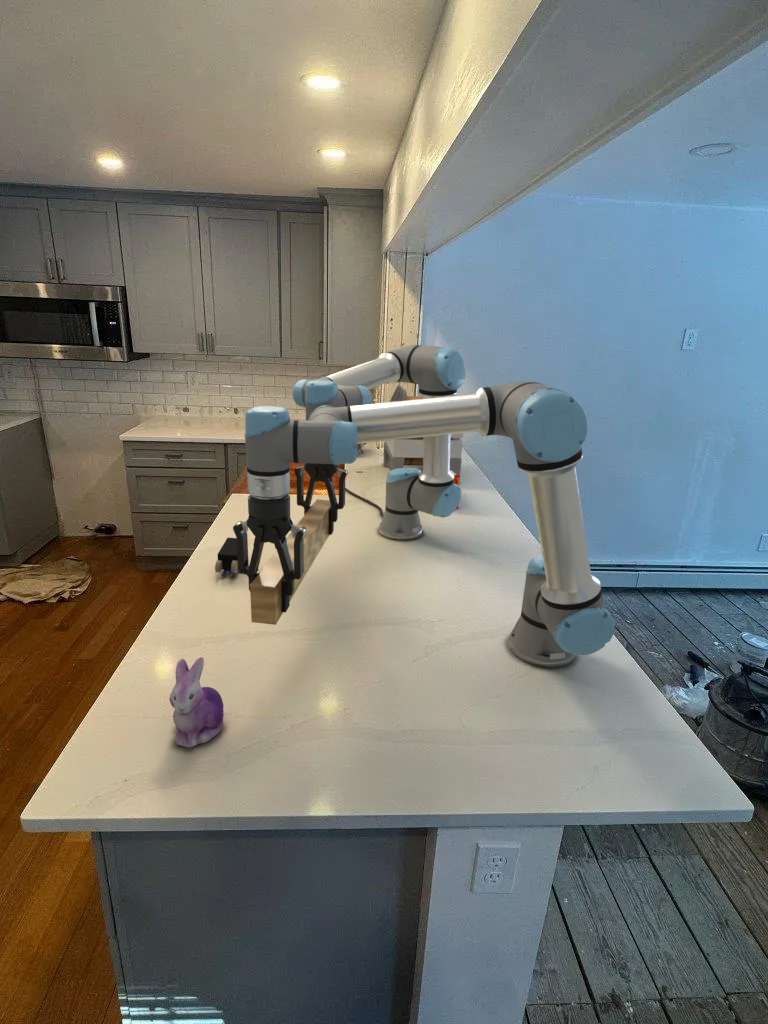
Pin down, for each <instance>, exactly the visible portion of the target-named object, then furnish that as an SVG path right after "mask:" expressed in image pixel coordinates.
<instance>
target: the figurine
mask: <svg viewBox="0 0 768 1024" xmlns="http://www.w3.org/2000/svg"><path fill="white" fill-rule="evenodd" d="M204 665H205V659H204V658H203V657H199V658H197V659H196V660H195V662H194V663H193V664H192V666H191V667H190V669H189V666H188V664H187V661H186V660H185V659H184V658H181V659H179V660H178V661H177V663H176V666H175V684H174V686H173V687H172V690H171V692H170V695H169V704H170V705H171V706H172V707H173V708H174V710H173V713H172V720H173V724H174V726H175V729H176V736H175V743H176V745H179V746H182V747H185V748H193V747H195V746H197V745H199V744H205V743H207V742H208V741H210V740H212V739H214V737H216V736H218V734H219V733H220V732H221V731H222V729H223V726H224V715H225V714H224V701H223V698H222V696H221V694H220V693H219V692H218V690H217V689H216V688H213V687H210V686H201V683H200V680H201V676H202V674H203V670H204Z"/></svg>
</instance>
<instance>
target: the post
mask: <svg viewBox="0 0 768 1024" xmlns="http://www.w3.org/2000/svg"><path fill="white" fill-rule="evenodd" d="M310 506H311V507H310V509H309V510H308V511H307V513H306V514H305V515H304V514H303V516H302V517H301V519H300V520H299V521H298V523H297V524H296V526H298V527H300V528H301V527H303V526H304V527H306V529H307V531H306V533H305V536H304V573H303V574H302V576H301V578H300V579H294V592H293V594H292V595H291V596H289V599H290V601H291V600H292V599H293V597H294V596H295V594H296V592H297V590H298V588H299V587H300V585H301V584H302V582H303V580H304V578H305V577H306V575H307V574H308V572H309V570H310V568H311V567H312V565H313V564H314V562H315V560H316V558H317V557H318V555H319V553H320V552H321V551H322V548H323V547H324V545H325V543H326V542H327V540H328V538H329V537H330V535H329V510H330V509H331V504H330V500H329V499H319V498H317V499H316V500H315V501H314V502H313V504H311V505H310ZM286 539H287V547H288V550H289V554H290V558H291V561H292V565H293V569H294V540H295V538H293V536H292V532H291V531H290V533H288V535H287V536H286ZM258 573H259V574H258V575H257V577H256V578H255V579H254V580H253V582H252V583H251V584H250V590H249V593H250V594H249V595H250V615H251V616H250V617H251V623H256V624H264V625H273V626H274V625H277V623H278V622H279V620H280V619H281V617H282V615H283V614H284V612H282V596H281V581H282V580H283V578H284V574H283V570H282V566H281V563H280V559H279V556H278V552H277V550H276V551H275V552H274V553H273V555H272V556H271V557H270V558H269V560H268V561H267V562H266V564H265V565H264V566H263V568H261V570H260V572H258Z"/></svg>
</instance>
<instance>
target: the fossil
mask: <svg viewBox="0 0 768 1024" xmlns="http://www.w3.org/2000/svg"><path fill="white" fill-rule="evenodd" d="M365 445H367V443H359V444H357V453H358V452H359V451H360V452H362V453H364V451H363V450H362V449H363V448H364V446H365Z"/></svg>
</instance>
